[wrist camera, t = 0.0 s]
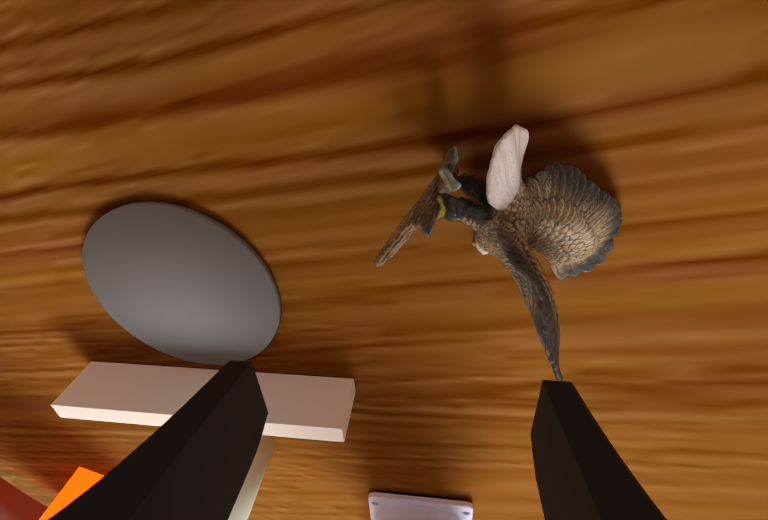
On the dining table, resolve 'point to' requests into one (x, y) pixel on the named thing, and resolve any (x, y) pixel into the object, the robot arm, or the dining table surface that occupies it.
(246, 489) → the sage cylinder
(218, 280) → the rubber mat
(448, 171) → the eagle figurine
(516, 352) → the dining table surface
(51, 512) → the orange juice
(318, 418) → the divider wall
